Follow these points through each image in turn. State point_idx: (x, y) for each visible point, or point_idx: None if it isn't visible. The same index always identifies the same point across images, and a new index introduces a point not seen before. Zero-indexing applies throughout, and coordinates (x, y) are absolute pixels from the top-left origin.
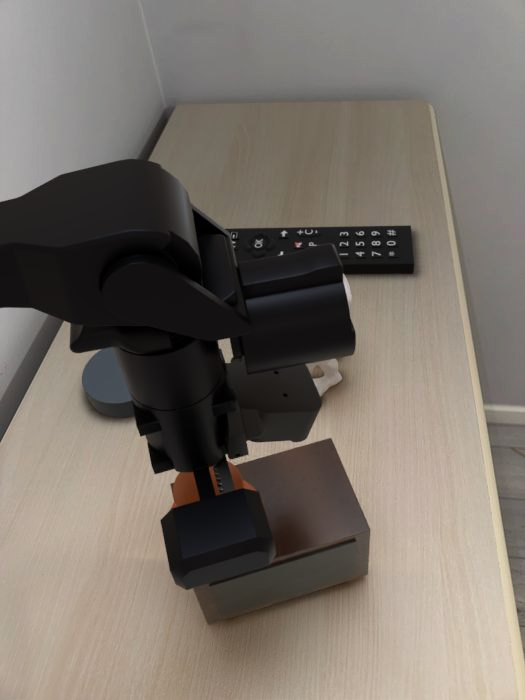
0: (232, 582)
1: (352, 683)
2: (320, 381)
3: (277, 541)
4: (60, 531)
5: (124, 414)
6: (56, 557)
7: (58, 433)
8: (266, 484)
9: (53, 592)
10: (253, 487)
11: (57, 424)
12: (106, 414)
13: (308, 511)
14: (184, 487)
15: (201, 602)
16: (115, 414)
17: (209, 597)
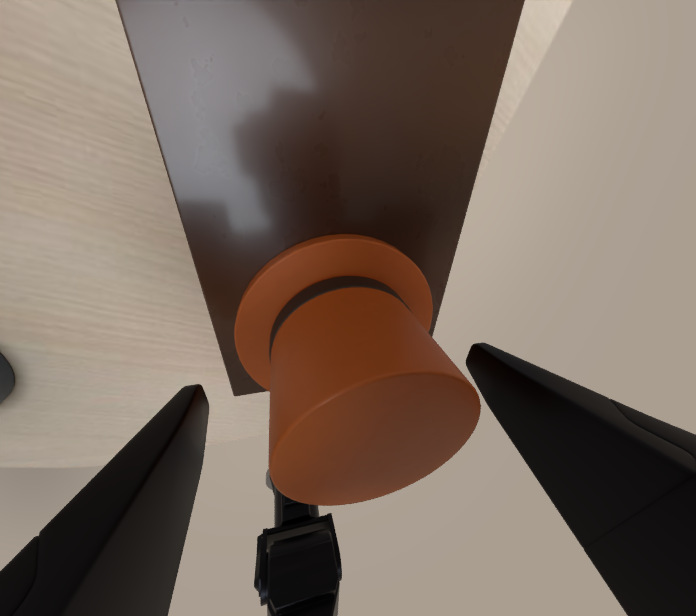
0: None
1: (487, 145)
2: None
3: (430, 225)
4: (223, 409)
5: (4, 372)
6: (253, 407)
7: (65, 431)
8: (280, 209)
9: None
10: (293, 252)
11: (46, 434)
12: (9, 391)
13: (401, 111)
14: (359, 489)
15: None
16: (7, 383)
17: None
